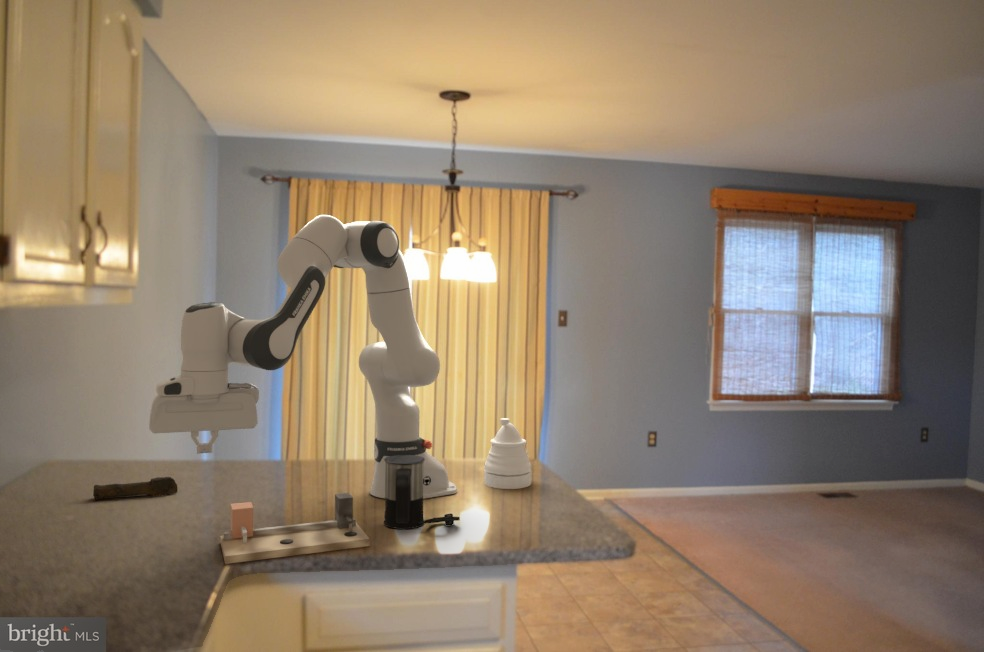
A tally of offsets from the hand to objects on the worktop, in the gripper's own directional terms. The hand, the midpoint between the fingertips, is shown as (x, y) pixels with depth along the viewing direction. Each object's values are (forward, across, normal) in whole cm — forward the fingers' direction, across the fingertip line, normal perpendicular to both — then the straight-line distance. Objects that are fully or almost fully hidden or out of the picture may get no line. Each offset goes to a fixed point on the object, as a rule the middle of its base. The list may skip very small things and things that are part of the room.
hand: (204, 452), depth 151 cm
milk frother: (+20, -45, +1) cm, 49 cm away
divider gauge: (+19, -17, +4) cm, 26 cm away
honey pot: (+19, -79, -26) cm, 86 cm away
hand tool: (+20, +14, -47) cm, 53 cm away
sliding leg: (+17, -7, +2) cm, 19 cm away
